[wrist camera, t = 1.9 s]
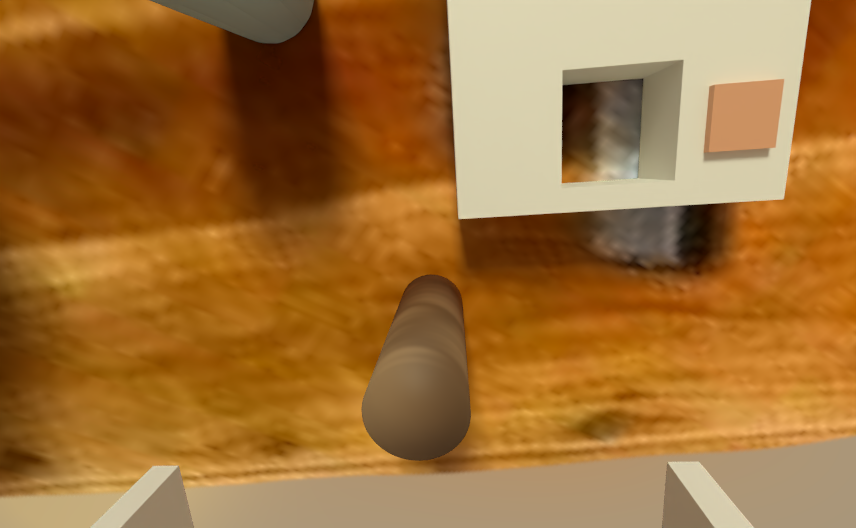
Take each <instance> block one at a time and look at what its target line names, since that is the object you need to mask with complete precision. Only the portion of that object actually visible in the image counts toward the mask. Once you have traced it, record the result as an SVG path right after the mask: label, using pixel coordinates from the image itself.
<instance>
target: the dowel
mask: <svg viewBox="0 0 856 528" xmlns="http://www.w3.org/2000/svg"><path fill="white" fill-rule="evenodd" d="M470 417H471V411H470V398H469V385H468V371H467V358H466V345H465V332H464V319H463V305H462V298H461V294H460V292H459V290H458V288H457V287H456V286H455V285H454V284H453V283H452V282H451V281H450V280H448V279H446V278H444V277H442V276H438V275H425V276H421V277H419V278H417V279H415V280H413V281H412V282H411V283H410V284H409V285H408V286H407V288H406V289H405V291H404V293H403V296H402V299H401V301H400V304H399V306H398V309H397V312H396V314H395V317H394V319H393V322H392V325H391V327H390V330H389V332H388V335H387V338H386V340H385V343H384V345H383V348H382V351H381V353H380V356H379V359H378V361H377V364H376V366H375V369H374V372H373V374H372V377H371V379H370V382H369V385H368V387H367V390H366V392H365V395H364V398H363V402H362V418H363V422H364V425H365V428H366V430H367V432H368V434H369V435H370V436H371V438H372V439H373V440H374V441H375V443H376V444H378V445H379V446H380V447H381V448H382V449H384V450H385V451H387V452H388V453H390V454H392V455H394V456H397V457H400V458H403V459H408V460H419V461H420V460H429V459H434V458H437V457H440V456H442V455H445V454H447V453H448V452H450V451H451V450H453V449H454V448H455V447H456V446H457V445H458V444H459V443H460V442H461V441H462V439H463V438H464V437H465V435H466V433H467V431H468V428H469V424H470Z"/></svg>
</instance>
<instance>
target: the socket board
mask: <svg viewBox="0 0 856 528" xmlns="http://www.w3.org/2000/svg"><path fill="white" fill-rule="evenodd" d="M810 6H811V0H447V16H448V35H449V55H450V74H451V94H452V113H453V132H454V152H455V171H456V190H457V210H458V218H459V219H469V218H486V217H502V216H518V215H534V214H551V213H567V212H583V211H599V210H616V209H632V208H648V207H664V206H681V205H697V204H713V203H729V202H746V201H762V200H778V199H784V194H785V187H786V179H787V172H788V165H789V158H790V150H791V143H792V136H793V129H794V121H795V114H796V107H797V100H798V93H799V85H800V78H801V71H802V64H803V56H804V49H805V42H806V35H807V27H808V20H809V13H810ZM641 78H643V94H642V113H641V132H640V151H639V170H638V178H637V179H622V180H607V181H592V182H577V183H562V184H561V180H562V85H570V84H582V83H594V82H606V81H618V80H630V79H641Z"/></svg>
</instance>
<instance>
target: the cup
mask: <svg viewBox="0 0 856 528" xmlns="http://www.w3.org/2000/svg"><path fill="white" fill-rule="evenodd" d="M150 1H153V2H155V3H158V4H161V5H163V6H166V7H168V8H171V9H173V10H176V11H178V12H181V13H184V14H186V15H189V16H191V17H194V18H196V19H199V20H201V21H204V22H207V23H209V24H212V25H214V26H217V27H219V28H222V29H225V30H227V31H230V32H232V33H235V34H237V35H240V36H243V37H245V38H248V39H250V40H253V41H256V42H259V43H281V42H284V41H286V40H288V39H290V38H292V37H293V36H295V35H296V34H298V33H299V32H300V31H301V29H302V28H303V27H304V25H305V24H306V22H307V21H308V19H309V17H310V15H311V12H312V8H313V3H314V0H150Z"/></svg>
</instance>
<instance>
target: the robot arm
mask: <svg viewBox="0 0 856 528" xmlns="http://www.w3.org/2000/svg"><path fill="white" fill-rule="evenodd" d="M90 528H194V526H193V522H192V518H191V514H190V510H189V505H188V501H187V497H186V493H185V489H184V485H183V481H182V477H181V473H180V469H179V466H153V467H152V468H151V469H150V470H149V471H148V472H147V473H146V474H144V475H143V476H142V477H141V478H140V479H139V480H138V481H137V482H136V483H135V484H134V485H133V486H132V487H131V488H130V489H129V490H128V491H127V492H126V493H125V494H124V495H123V496H122V497H121V498H120V499H119V500H118V501H117V502H116V503H115V504H114V505H113V506H112V507H111V508H110V509H109V510H108V511H107V512H106V513H105V514H104V515H102V517H101V518H100V519H98V520H97V521H96V522H95V523H94V524H93V525H92V526H91V527H90ZM662 528H754V527H753V526H752V525H751V524H750V523H749V521H748V520H747V519H746V518H745V517H744V515H743V514H742V513H741V512H740V511H739V509H738V508H737V507H736V506H735V505H734V503H733V502H732V501H731V500H730V499H729V497H728V496H727V495H726V494H725V492H724V491H723V490H722V489H721V488H720V486H719V485H718V484H717V483H716V482H715V480H714V479H713V478H712V477H711V475H710V474H709V473H708V472H707V471H706V469H705V468H704V467H703V466H702V465H701V463H700V462H667V471H666V483H665V496H664V509H663V521H662Z"/></svg>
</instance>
